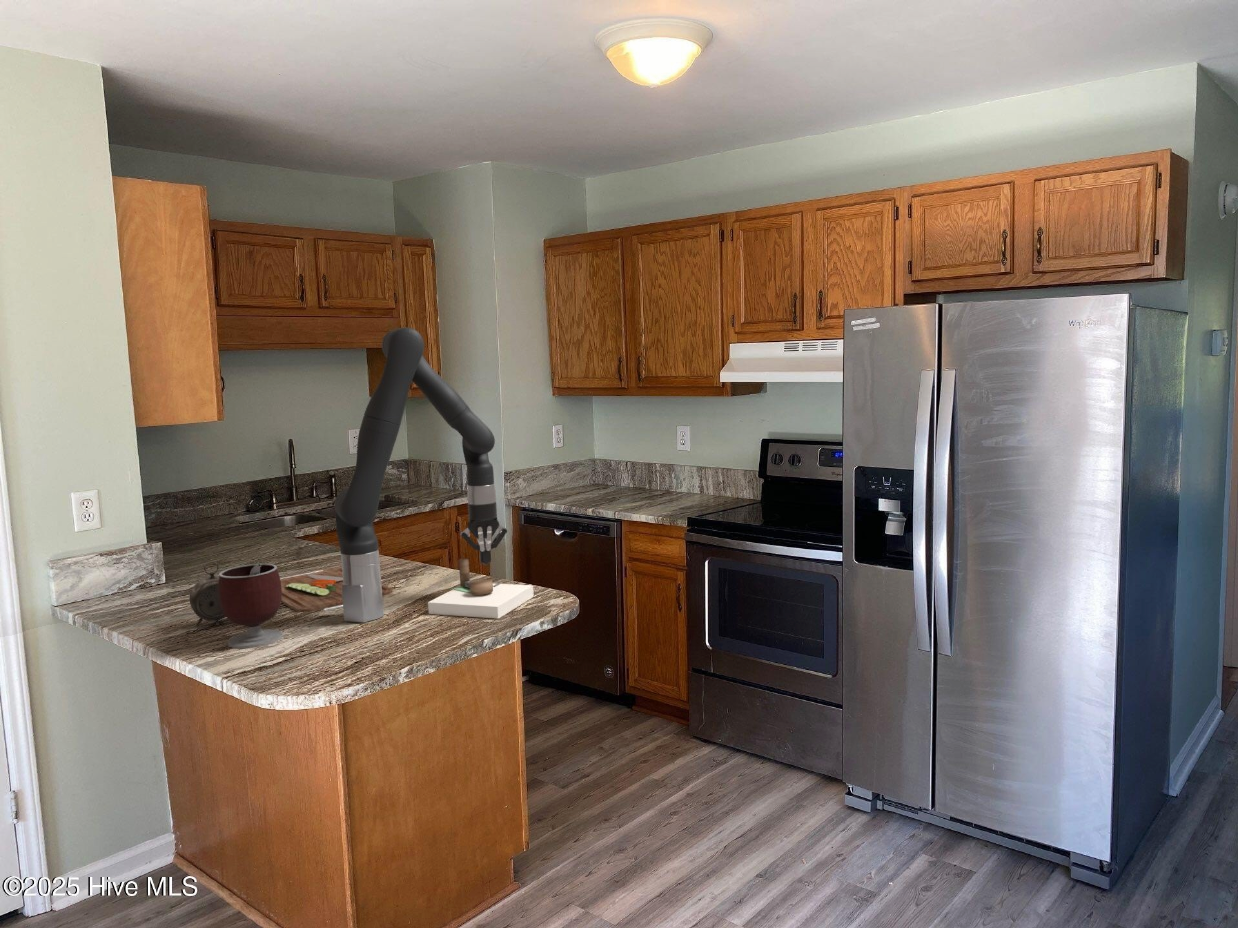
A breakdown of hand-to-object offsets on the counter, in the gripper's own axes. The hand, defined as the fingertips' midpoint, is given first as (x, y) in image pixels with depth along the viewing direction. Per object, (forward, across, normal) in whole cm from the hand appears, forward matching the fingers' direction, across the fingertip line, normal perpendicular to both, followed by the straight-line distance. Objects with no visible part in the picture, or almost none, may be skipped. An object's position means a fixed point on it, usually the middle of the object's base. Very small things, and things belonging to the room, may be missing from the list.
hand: (485, 563), depth 246 cm
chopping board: (+10, -43, +29) cm, 53 cm away
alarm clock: (+10, -69, +6) cm, 70 cm away
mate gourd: (+10, -58, -14) cm, 60 cm away
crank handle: (+5, -4, -5) cm, 9 cm away
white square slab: (+9, -3, -9) cm, 13 cm away
